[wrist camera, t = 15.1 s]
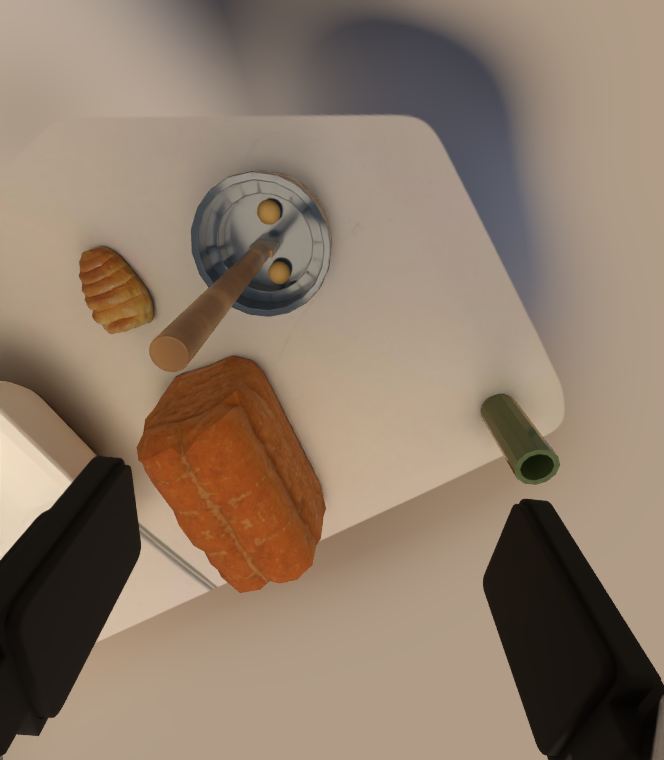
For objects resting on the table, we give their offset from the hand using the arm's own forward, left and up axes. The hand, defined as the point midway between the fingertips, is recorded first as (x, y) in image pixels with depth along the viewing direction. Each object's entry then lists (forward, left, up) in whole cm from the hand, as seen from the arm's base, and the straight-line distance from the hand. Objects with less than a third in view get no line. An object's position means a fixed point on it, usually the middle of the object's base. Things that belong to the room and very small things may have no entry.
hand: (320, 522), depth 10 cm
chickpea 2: (+6, +3, -38) cm, 39 cm away
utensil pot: (-24, +18, -40) cm, 50 cm away
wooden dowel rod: (+7, 0, -40) cm, 40 cm away
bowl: (+7, 0, -40) cm, 41 cm away
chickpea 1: (+7, -3, -38) cm, 39 cm away
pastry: (+24, +8, -40) cm, 48 cm away
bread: (+8, +28, -40) cm, 50 cm away
